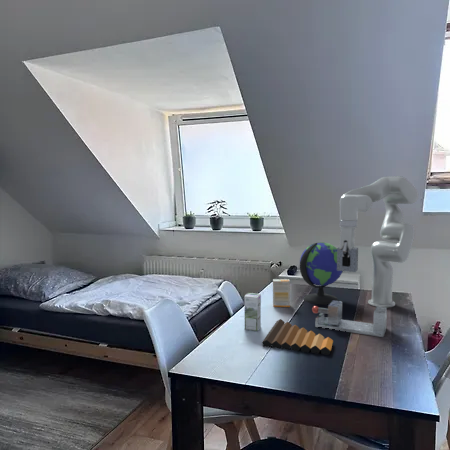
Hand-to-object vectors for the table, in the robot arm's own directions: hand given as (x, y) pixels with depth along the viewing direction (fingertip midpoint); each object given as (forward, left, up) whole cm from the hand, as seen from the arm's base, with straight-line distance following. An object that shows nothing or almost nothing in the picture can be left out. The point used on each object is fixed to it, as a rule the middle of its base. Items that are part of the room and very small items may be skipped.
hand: (347, 264), depth 187 cm
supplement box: (-6, -33, -25) cm, 41 cm away
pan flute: (+33, -11, -25) cm, 43 cm away
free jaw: (+12, -6, -22) cm, 26 cm away
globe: (-25, -18, -25) cm, 39 cm away
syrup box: (+30, -33, -25) cm, 51 cm away
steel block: (0, 0, -3) cm, 3 cm away
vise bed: (+12, +4, -24) cm, 27 cm away
